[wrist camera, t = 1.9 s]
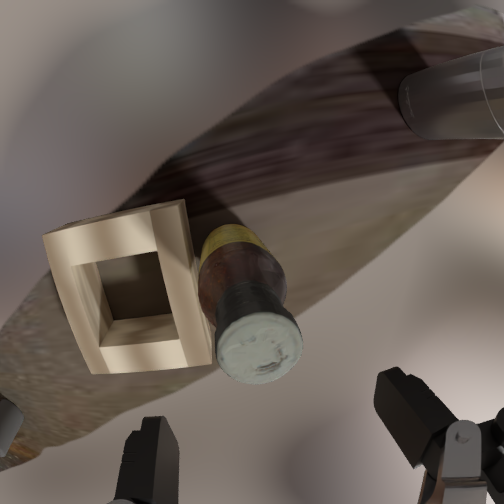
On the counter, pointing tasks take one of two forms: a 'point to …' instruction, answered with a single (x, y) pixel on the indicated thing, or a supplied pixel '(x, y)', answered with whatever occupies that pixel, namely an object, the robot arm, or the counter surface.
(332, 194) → the counter surface
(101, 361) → the dock block
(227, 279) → the sauce bottle
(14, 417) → the bottle
